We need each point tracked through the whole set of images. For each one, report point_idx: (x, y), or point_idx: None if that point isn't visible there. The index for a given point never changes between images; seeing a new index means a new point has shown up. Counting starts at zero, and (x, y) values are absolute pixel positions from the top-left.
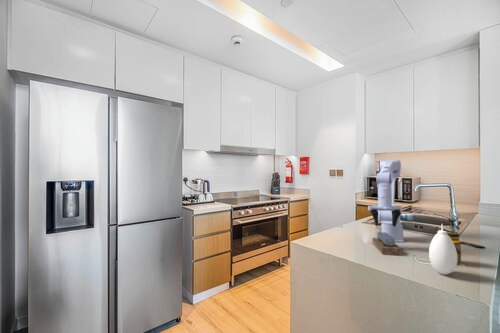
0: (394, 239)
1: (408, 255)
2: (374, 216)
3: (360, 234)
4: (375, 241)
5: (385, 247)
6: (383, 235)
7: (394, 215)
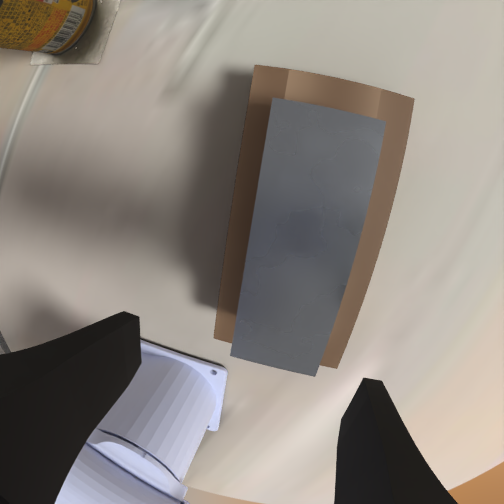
0: (278, 99)
1: (211, 81)
2: (456, 502)
3: (297, 469)
4: (364, 292)
5: (384, 101)
6: (321, 264)
7: (25, 425)
